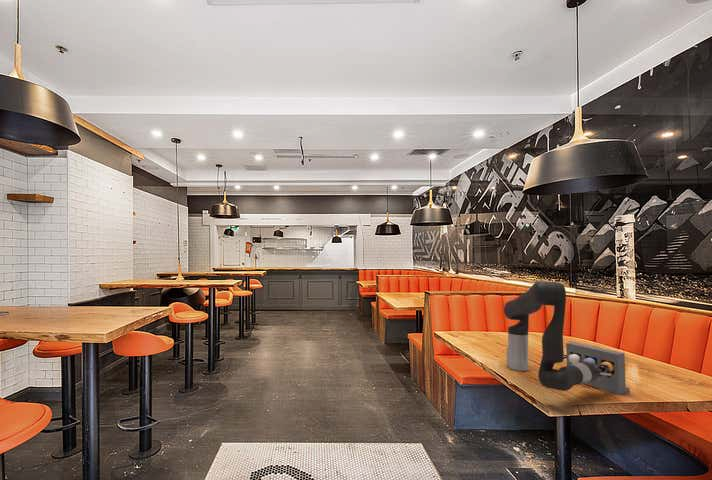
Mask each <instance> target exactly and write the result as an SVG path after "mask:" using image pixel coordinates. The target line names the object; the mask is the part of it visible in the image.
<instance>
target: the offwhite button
mask: <svg viewBox="0 0 712 480" xmlns="http://www.w3.org/2000/svg"><path fill="white" fill-rule="evenodd" d="M569 361H570V362H571V363H573V364H574V363H579V362H581V356H580V355H579V354H571V355H569Z"/></svg>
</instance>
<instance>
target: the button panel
mask: <svg viewBox="0 0 712 480" xmlns="http://www.w3.org/2000/svg"><path fill="white" fill-rule="evenodd" d="M565 347H566V348H565V349H566V366H568V365H571V364H573V363H571V362H570V361H569V355H571V354H579V355H580V356H581V362H584V359H586V358H590V357H592V358H594V359H596V361H597V364H598V365H601V364H602V363H603V362H607V361H611V362H613V363H614V371H611V378H608V377H607V376H605V375H603V376H598V377H597V379H596V380H595V381H592V382H588V383H584V385H586V386H589V387H593V388H594V389H595V388H596V389H599V390H602V391H606V392H609V393H612V394H616V395H618V396H620V395H623V394H626V393H630V392H631V390H630V388H631V387H628V386H626V364H625V363H626V361H625V357H626V355H625V353H624V352H620V351H616V350H611V349H606V348H603V347H597V346H594V345H590V344H589V345H588V344H585V343H580V342H579V343H578V342H574V341H571V342H566V343H565Z"/></svg>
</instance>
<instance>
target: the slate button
mask: <svg viewBox="0 0 712 480" xmlns="http://www.w3.org/2000/svg"><path fill="white" fill-rule="evenodd" d="M584 362H589V363H591V364H595V365H597V361H596V359H594V358H592V357H590V358H586V359H584Z"/></svg>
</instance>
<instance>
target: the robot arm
mask: <svg viewBox="0 0 712 480" xmlns="http://www.w3.org/2000/svg"><path fill="white" fill-rule="evenodd" d="M566 303H567V293H566V288H565V286H564V284H563V283H562V282H559V281H544V280H543V281H541V280H540V281H537V282H536V281H535V283H533V284H532V286H530V287H529V289H527V291H525V292H523V293H522V294H520V295H518V296H517V297H516V298H514V299H512V300H508V301H507V302H506V303H505V304H504V307H503V313H504V316H505V317H506V318H507V319H508V320H512V321H518V322H517V323H516V324H513V325H510V326H508V327H507V347H506V348H505V349H506V350H505V351H506V367H508V368H509V369H511V370H513V371H517V372H527V371H529V370H530V367H529V365H530V363H529V361H530V360H529V358H530V357H529V323H530V321H529V320H530V317H529V316H530V315H532V314H535V313H536V312H538V311H540V310H541V309H542V306H552V307H553V315H552V318H551V320H550V321H549V323H548V324H547V327H546V328H545V329H544V332H543V334H542V337H541V347H542V349H541V350H542V352H541V353H542V355H541V360H540V364H539V365H540V366H539V369H538V374H537V376H538V377H537V378H538V382H539V383H540V384H541V386H542V387H545V388H547V389H552V390H556V391H560V392H561V391H562V392H565V391H569V390H571V389H572V388H573V387H574V386H576V385H583V384H584V383H588V382H592V381H595V380H596V379H597V377H598V376H603V375H605V376H607V377H608V378H611V371H610V370H609V366H608V365H605V364H602V365H598V364H597V365H595V364H591V363H589V362H579V363H574V364H571V365H568V366H567V365H565V366H561V367H560V368H558V369H555V368H554V365H555V364H559V363H560V364H561V363H563V362H564V360H565V353H564V350H565V349H564V326H565V318H566V317H565V315H566ZM584 385H585V384H584Z"/></svg>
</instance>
